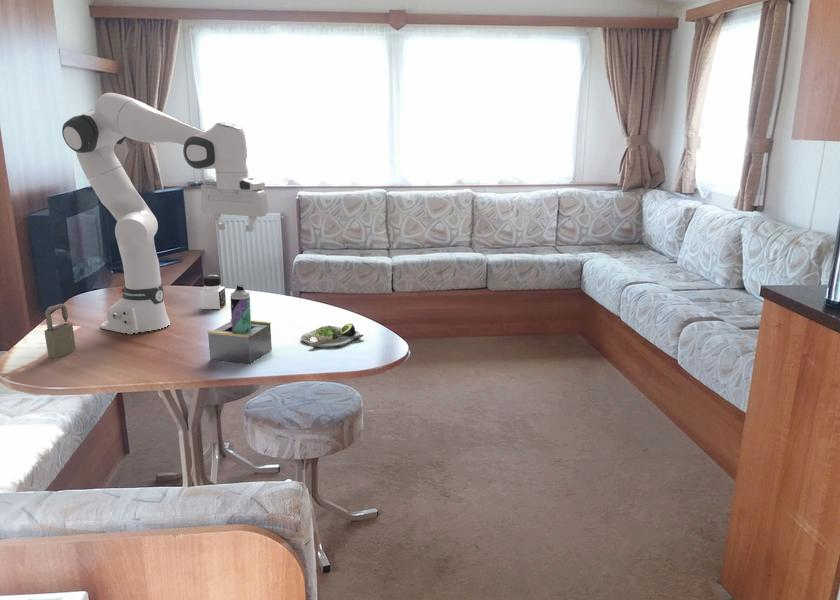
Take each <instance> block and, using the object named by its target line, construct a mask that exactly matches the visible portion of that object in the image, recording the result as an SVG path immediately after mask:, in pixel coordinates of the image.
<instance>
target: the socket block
mask: <svg viewBox="0 0 840 600" xmlns="http://www.w3.org/2000/svg"><path fill="white" fill-rule="evenodd" d="M271 323H272V322H270V321H262V320H260V321H259V320H253V319H252V320H251V330H249V331H247V332H246V333H236V332H232V318H230V320H229V322H227V323H224V324H223V325H220V326H219V327H217V328H215V329H213V330H207V333H206V334H208V335H207V337H208V350H209V360H210V361H213V360H216V361H215V362H222V361H224V363H232V364H240V363H242V364H241V365H248V364H250V365H252V364H254V363H255V362H256V361H257V359H258V360H259V359H260V358H262V357H263V356H266V355H267V354H268V353H269V352H271V351H273V348H272V347H273V345H272V333H271V332H272V330H271V325H272V324H271ZM254 361H255V362H254ZM251 363H252V364H251Z"/></svg>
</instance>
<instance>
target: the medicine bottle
mask: <svg viewBox="0 0 840 600" xmlns="http://www.w3.org/2000/svg"><path fill="white" fill-rule="evenodd" d="M202 282H203V283H202V284H203V289H201V290H200V291H199V293H200V295H199V297H200V306H201V310H202V309H219V310H218V311H221V310H222V309H223V308H224V307H225V306H226V305H227V298H226V287H225V286H222V283H221V276H219V275H217V274H209V275H205V276H203V278H202ZM220 309H221V310H220Z"/></svg>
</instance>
